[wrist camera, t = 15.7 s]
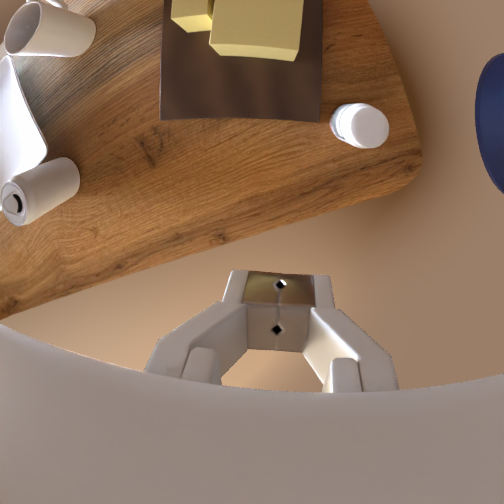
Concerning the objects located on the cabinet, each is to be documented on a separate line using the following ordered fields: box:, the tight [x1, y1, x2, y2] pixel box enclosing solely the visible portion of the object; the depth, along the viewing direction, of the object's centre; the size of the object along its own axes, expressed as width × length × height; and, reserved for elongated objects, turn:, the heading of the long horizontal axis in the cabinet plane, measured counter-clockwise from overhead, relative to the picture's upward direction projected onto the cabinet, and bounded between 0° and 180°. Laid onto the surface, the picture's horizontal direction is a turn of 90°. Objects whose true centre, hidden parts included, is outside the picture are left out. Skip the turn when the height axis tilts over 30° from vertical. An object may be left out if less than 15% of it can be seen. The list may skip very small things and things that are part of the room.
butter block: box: [209, 0, 304, 61], centre depth 22 cm, size 8×7×6 cm
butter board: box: [160, 0, 322, 123], centre depth 26 cm, size 18×20×2 cm
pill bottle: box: [330, 103, 389, 148], centre depth 27 cm, size 5×5×8 cm
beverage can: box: [0, 157, 80, 226], centre depth 30 cm, size 6×6×12 cm
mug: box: [4, 0, 96, 57], centre depth 19 cm, size 10×7×12 cm, turn 10°
